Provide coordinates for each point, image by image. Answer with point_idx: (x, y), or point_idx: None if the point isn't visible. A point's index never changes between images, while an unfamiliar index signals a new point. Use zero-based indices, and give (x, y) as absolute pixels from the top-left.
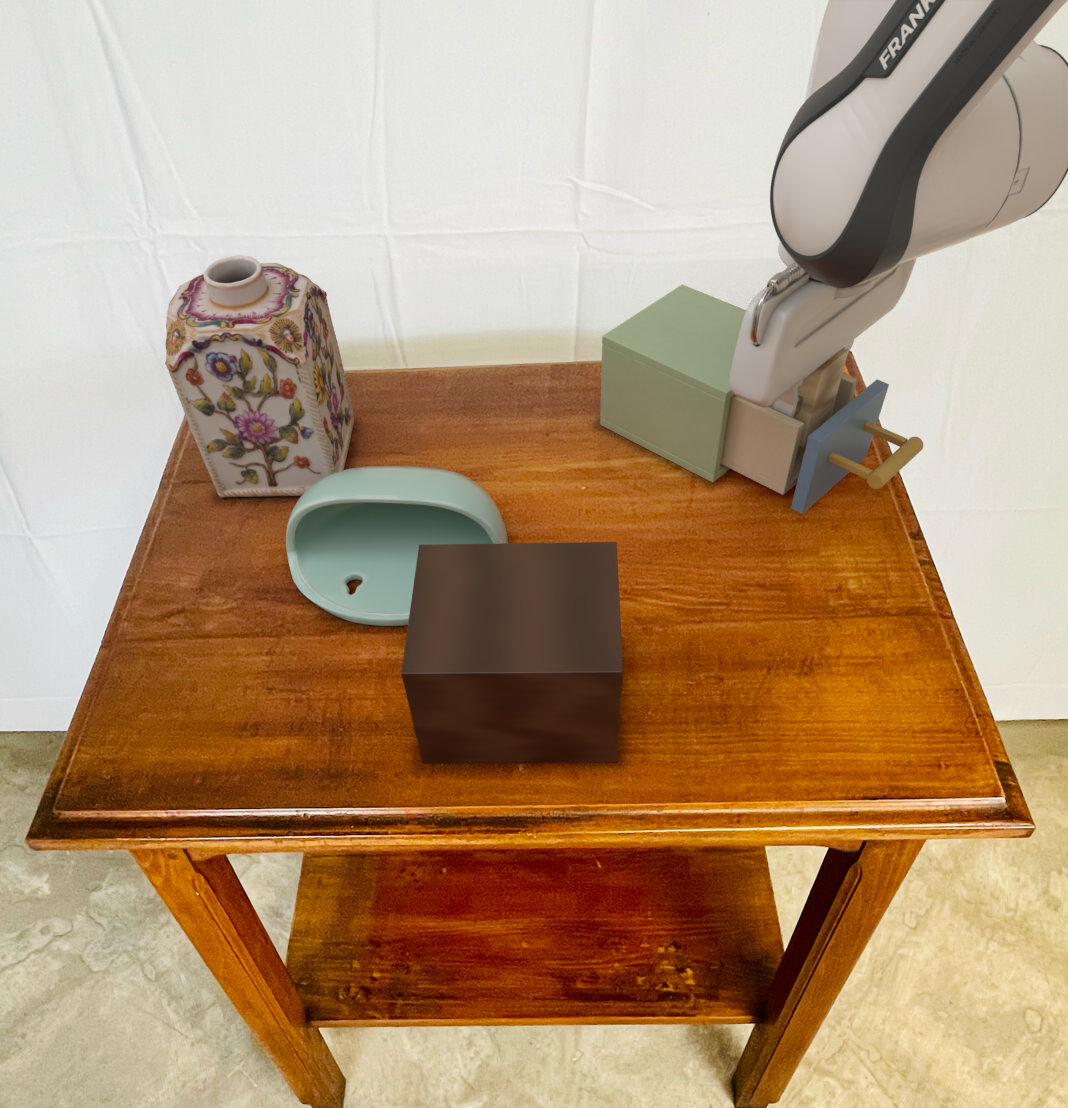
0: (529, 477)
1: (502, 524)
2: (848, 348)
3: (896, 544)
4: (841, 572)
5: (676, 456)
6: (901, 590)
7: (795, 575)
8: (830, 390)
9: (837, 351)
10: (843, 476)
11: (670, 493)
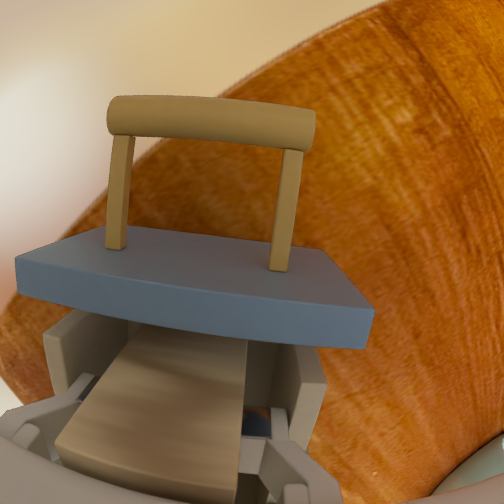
0: (376, 500)
1: (490, 471)
2: (24, 418)
3: (279, 85)
4: (390, 138)
5: None
6: (371, 50)
7: (429, 198)
8: (151, 389)
9: (115, 493)
10: (185, 232)
11: (346, 419)
